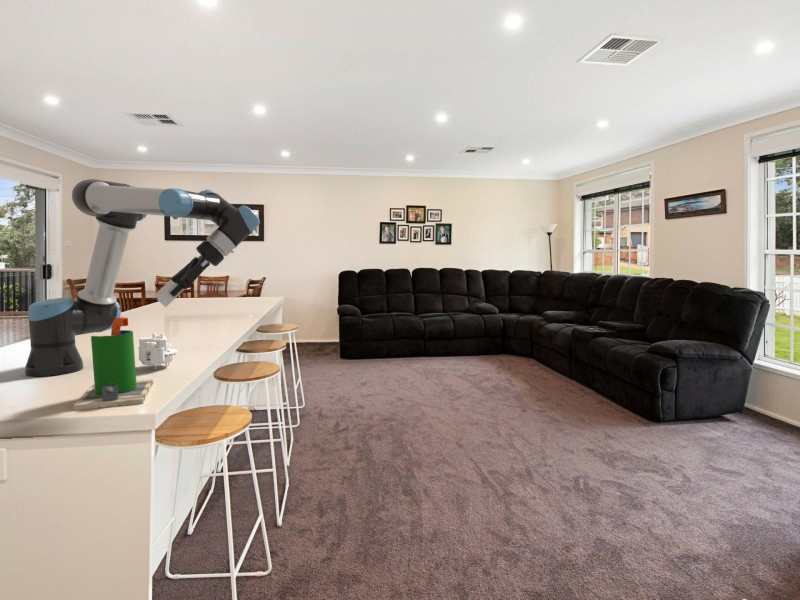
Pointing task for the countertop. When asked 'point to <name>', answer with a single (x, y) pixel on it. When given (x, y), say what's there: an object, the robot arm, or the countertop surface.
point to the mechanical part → (155, 350)
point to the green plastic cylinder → (114, 358)
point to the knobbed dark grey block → (110, 392)
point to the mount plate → (124, 398)
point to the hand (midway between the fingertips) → (159, 301)
